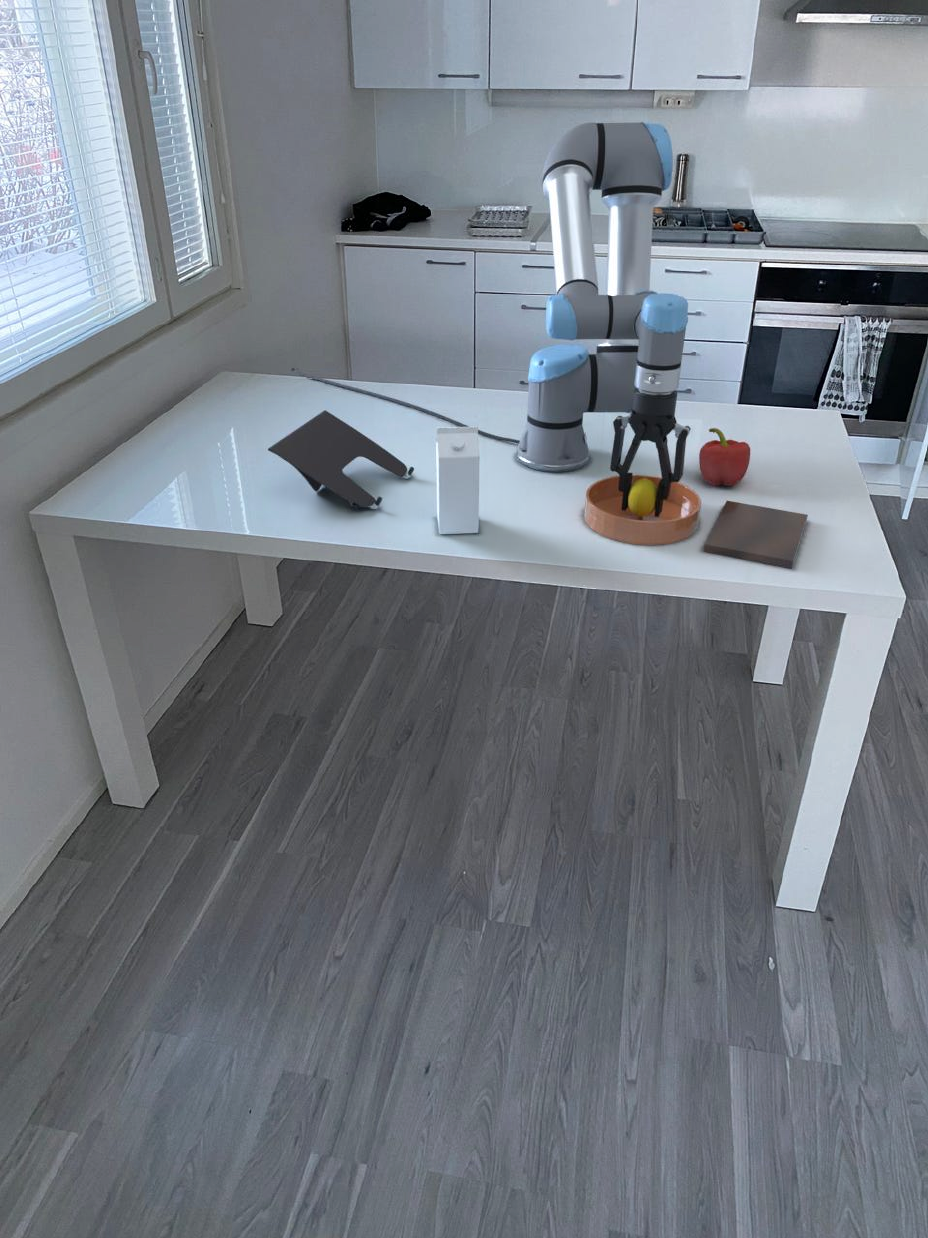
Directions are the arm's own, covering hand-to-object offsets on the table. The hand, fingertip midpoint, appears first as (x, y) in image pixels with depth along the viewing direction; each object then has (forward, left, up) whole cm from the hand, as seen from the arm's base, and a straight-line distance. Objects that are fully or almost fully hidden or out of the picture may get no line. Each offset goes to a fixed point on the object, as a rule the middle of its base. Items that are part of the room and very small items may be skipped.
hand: (641, 510), depth 174 cm
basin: (0, 0, -2) cm, 2 cm away
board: (+21, +2, -2) cm, 21 cm away
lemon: (0, 0, -2) cm, 2 cm away
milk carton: (-30, -17, -2) cm, 35 cm away
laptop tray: (-57, -10, -2) cm, 58 cm away
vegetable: (+10, +24, -2) cm, 26 cm away
